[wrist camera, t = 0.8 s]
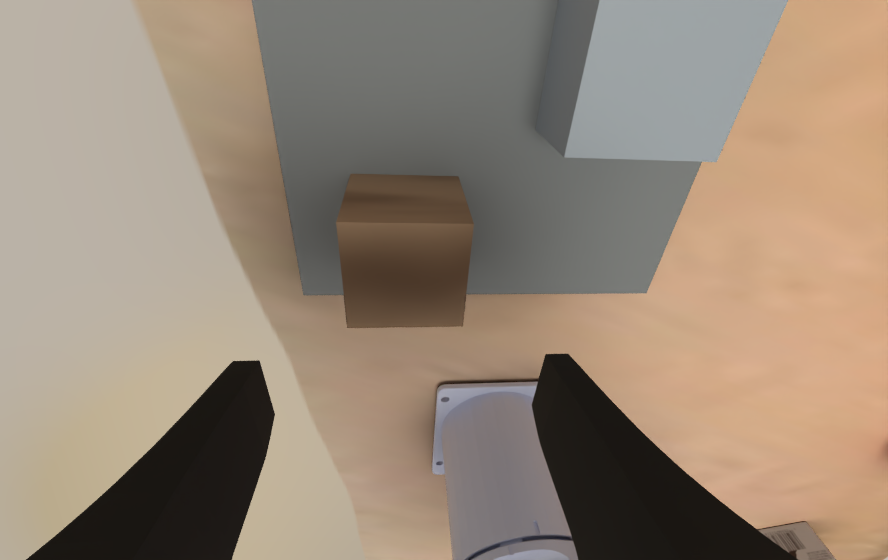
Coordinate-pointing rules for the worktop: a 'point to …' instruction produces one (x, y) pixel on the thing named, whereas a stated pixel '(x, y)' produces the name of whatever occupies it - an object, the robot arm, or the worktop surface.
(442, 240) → the walnut block
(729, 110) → the base block
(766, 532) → the coffee box
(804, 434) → the worktop surface
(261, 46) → the mat
